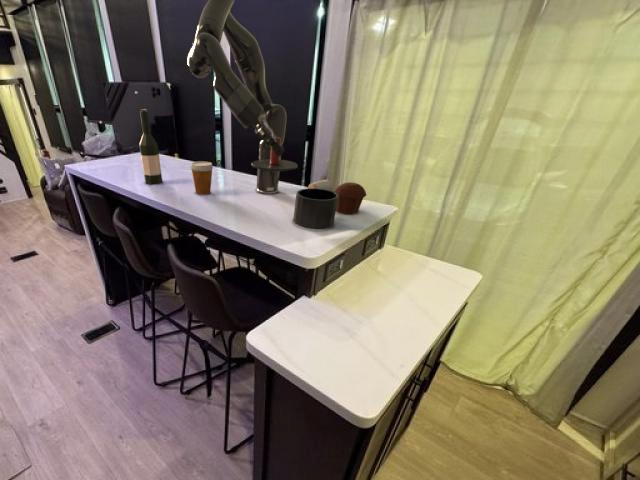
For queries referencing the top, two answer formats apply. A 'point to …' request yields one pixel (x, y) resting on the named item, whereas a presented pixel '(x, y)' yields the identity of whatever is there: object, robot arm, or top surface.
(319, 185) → the ceramic mug
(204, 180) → the disposable coffee cup
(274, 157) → the lid
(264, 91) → the robot arm
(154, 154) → the wine bottle
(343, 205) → the muffin
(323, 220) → the pot
